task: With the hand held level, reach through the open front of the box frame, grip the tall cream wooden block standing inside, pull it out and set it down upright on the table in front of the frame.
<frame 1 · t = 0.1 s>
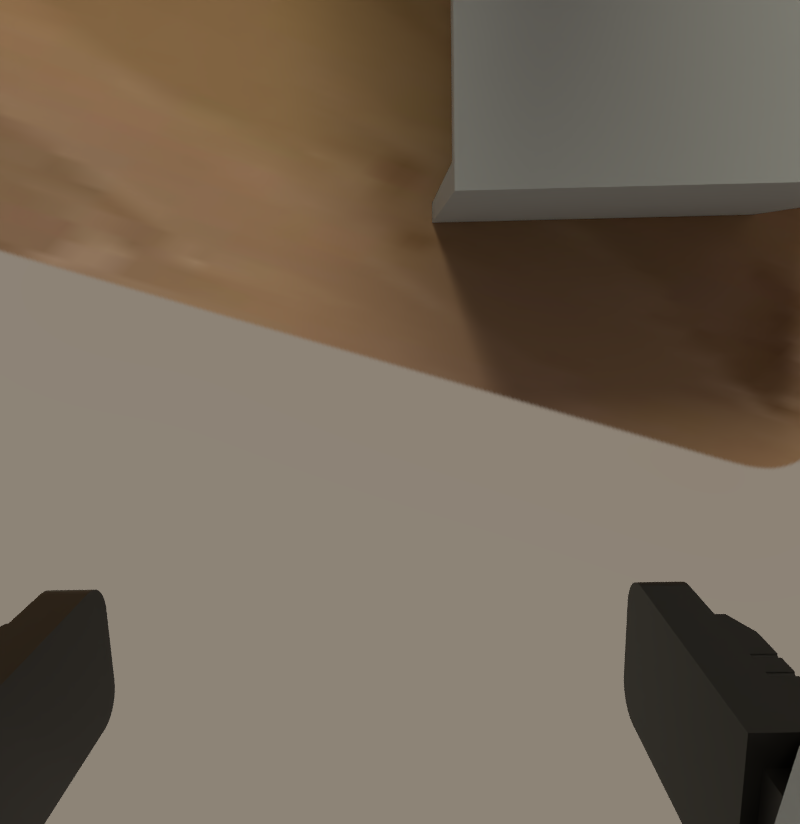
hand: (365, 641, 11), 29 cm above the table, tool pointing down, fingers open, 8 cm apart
open box frame: (598, 13, 36), on the table
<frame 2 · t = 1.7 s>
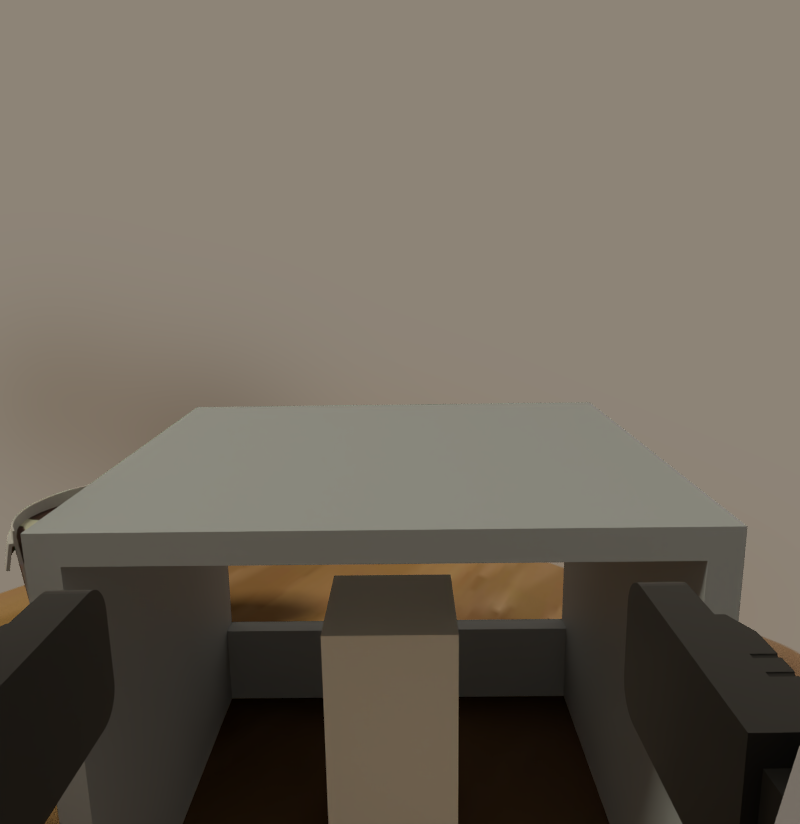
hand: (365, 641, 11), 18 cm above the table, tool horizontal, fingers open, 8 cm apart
open box frame: (395, 800, 31), on the table
food container: (125, 649, 44), on the table
cream block: (395, 818, 30), on the table
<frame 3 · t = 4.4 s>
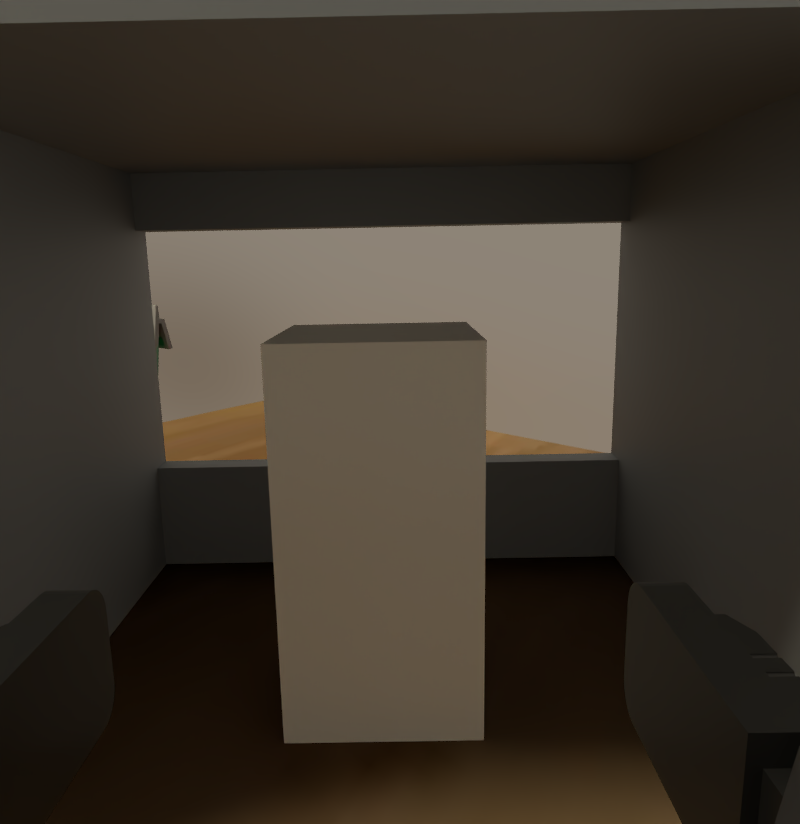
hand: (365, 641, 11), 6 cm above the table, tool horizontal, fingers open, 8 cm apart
open box frame: (386, 663, 21), on the table
food container: (37, 524, 34), on the table
cream block: (385, 683, 20), on the table
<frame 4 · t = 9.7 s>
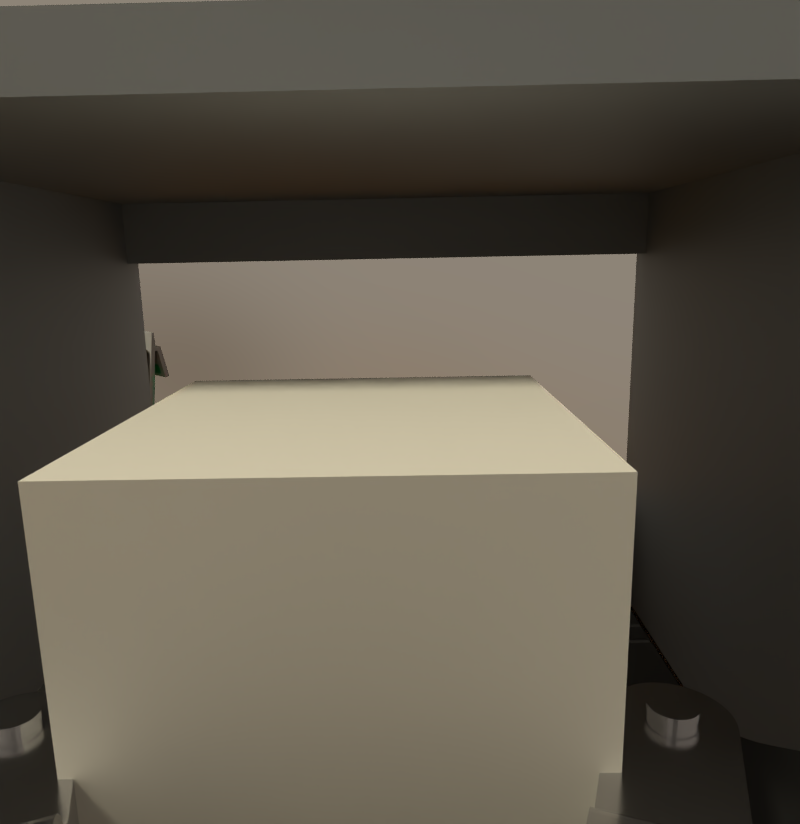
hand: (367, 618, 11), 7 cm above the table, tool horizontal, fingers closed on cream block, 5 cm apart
open box frame: (388, 729, 20), on the table
food container: (30, 557, 33), on the table
when the fingers open (7 cm above the table, at t = 12.6 s): cream block stays where it is, on the table.
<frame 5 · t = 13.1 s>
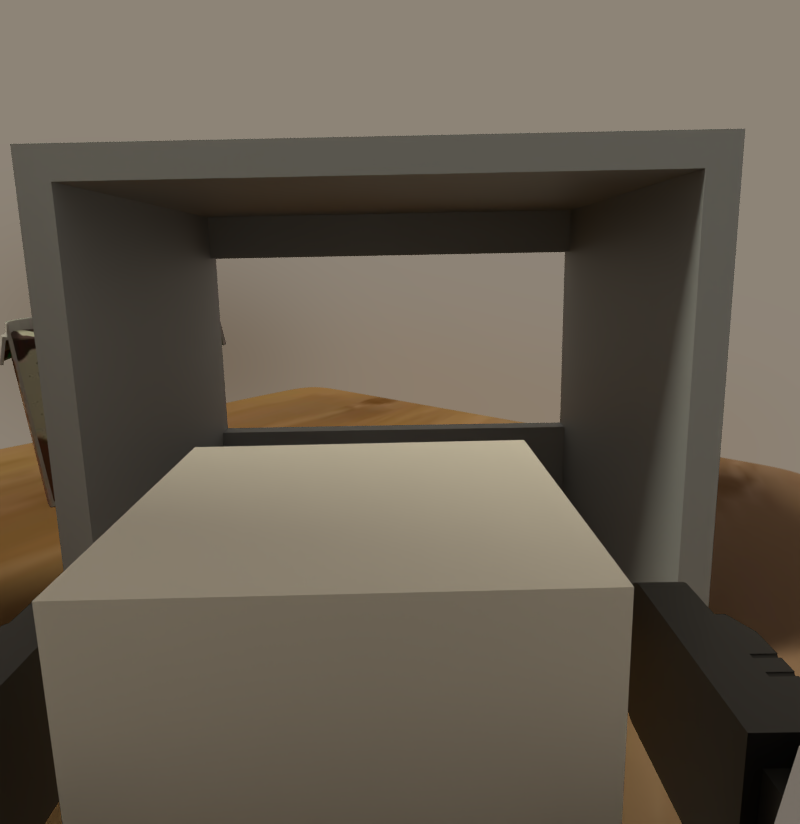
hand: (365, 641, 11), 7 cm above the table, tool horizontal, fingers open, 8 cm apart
open box frame: (392, 558, 31), on the table
food container: (120, 480, 44), on the table
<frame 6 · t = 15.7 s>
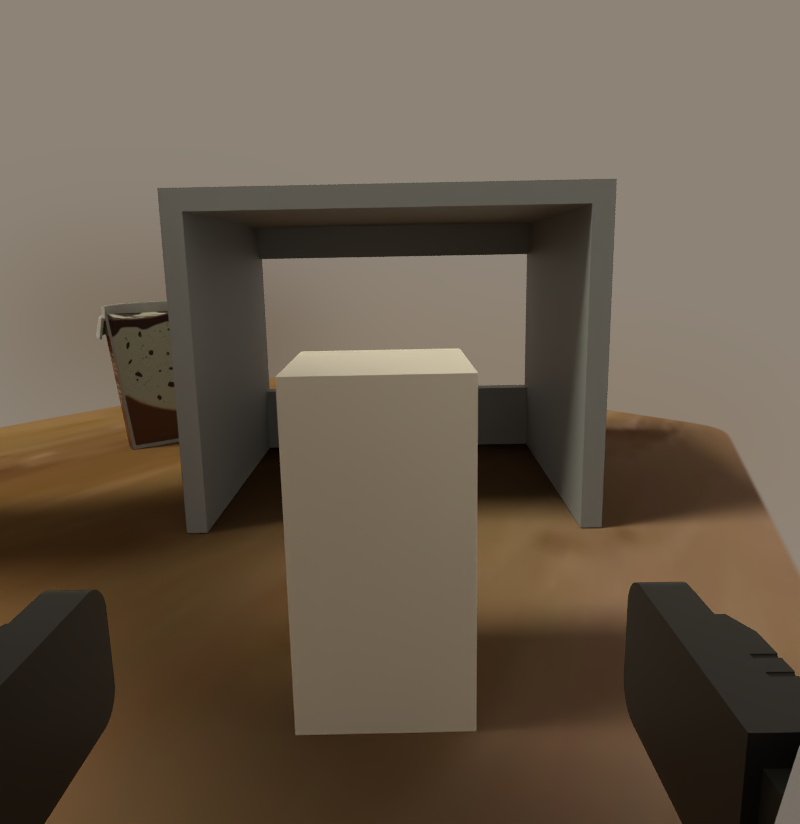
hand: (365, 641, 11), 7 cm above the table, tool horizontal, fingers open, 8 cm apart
open box frame: (396, 477, 43), on the table
food container: (181, 434, 56), on the table
cream block: (386, 680, 22), on the table
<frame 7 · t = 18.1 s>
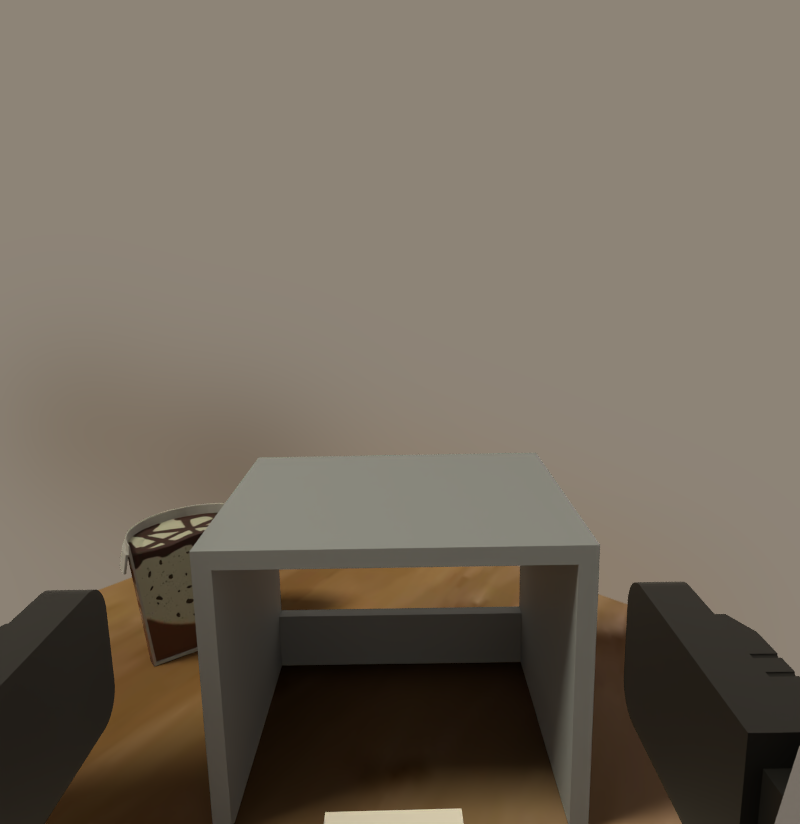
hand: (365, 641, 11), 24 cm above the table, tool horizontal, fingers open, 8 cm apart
open box frame: (400, 727, 46), on the table
food container: (197, 632, 59), on the table
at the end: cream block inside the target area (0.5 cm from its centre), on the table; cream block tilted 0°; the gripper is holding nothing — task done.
